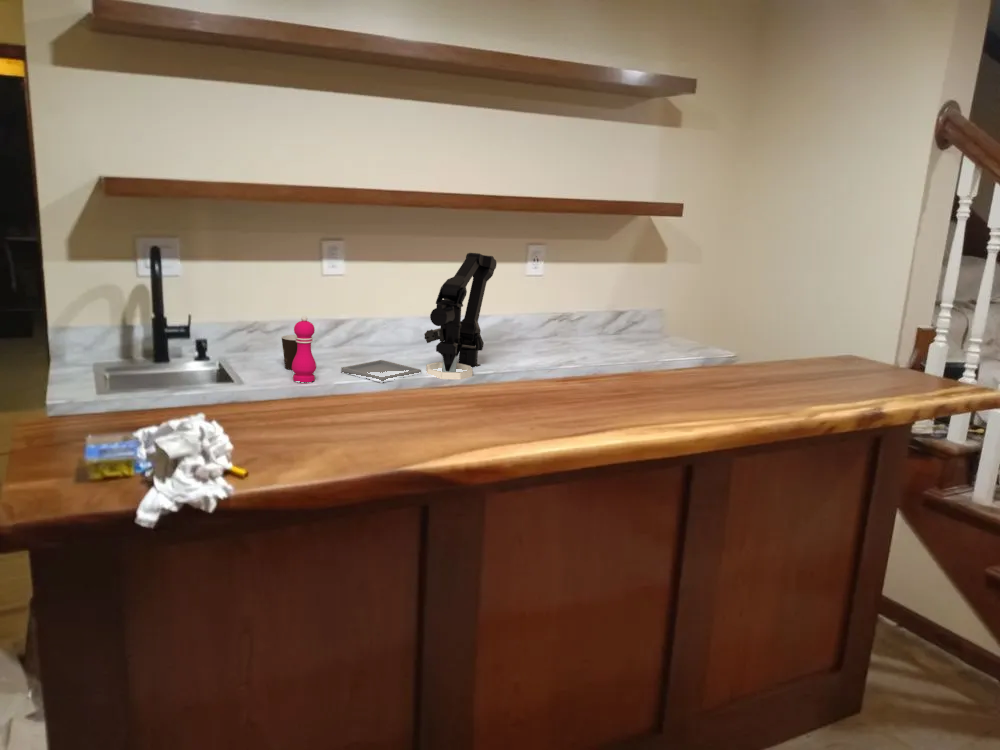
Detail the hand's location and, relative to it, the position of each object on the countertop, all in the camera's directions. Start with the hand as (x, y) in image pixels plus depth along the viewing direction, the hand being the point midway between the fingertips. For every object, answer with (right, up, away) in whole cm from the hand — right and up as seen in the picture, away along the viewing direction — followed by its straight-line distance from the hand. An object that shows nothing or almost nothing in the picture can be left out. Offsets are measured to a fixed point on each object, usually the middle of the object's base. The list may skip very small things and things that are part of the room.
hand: (449, 368), depth 259 cm
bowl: (0, -2, 0) cm, 2 cm away
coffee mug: (-49, 0, -3) cm, 49 cm away
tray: (-22, -2, -4) cm, 22 cm away
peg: (0, -2, 0) cm, 2 cm away
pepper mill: (-43, -4, -19) cm, 47 cm away
